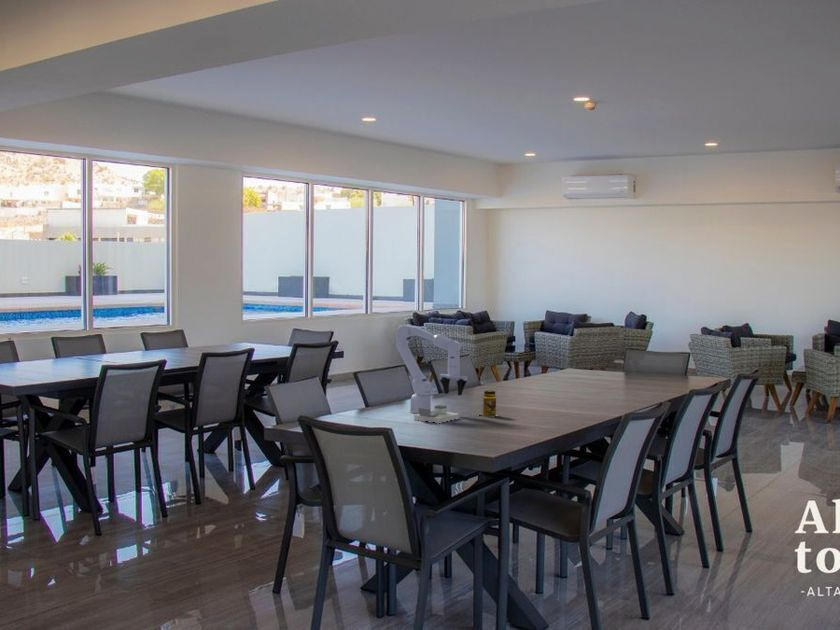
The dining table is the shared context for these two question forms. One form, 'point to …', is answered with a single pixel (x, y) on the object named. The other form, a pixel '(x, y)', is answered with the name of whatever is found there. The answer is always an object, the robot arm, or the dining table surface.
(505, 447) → the dining table surface
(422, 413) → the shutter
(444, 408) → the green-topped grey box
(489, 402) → the yellow metal cylinder
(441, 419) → the socket
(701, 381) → the dining table surface
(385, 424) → the dining table surface
